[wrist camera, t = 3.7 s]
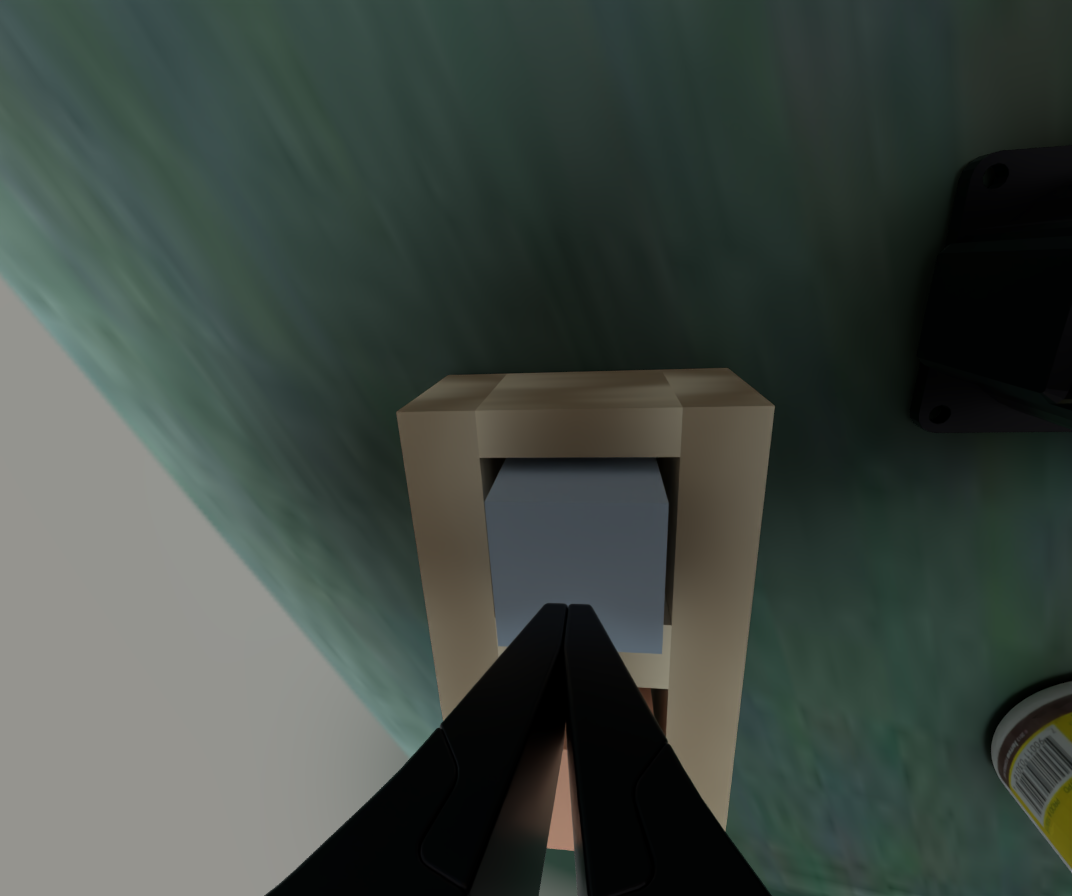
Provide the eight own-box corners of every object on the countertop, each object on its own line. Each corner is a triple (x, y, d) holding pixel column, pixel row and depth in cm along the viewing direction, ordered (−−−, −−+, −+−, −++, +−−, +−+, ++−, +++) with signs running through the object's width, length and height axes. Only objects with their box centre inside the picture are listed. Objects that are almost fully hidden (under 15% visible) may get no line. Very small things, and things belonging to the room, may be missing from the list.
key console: (727, 367, 14) (774, 405, 10) (699, 721, 18) (724, 839, 14) (447, 375, 15) (395, 412, 11) (485, 707, 19) (457, 813, 15)
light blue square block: (654, 452, 12) (669, 503, 9) (650, 577, 13) (662, 654, 11) (508, 452, 13) (484, 501, 10) (517, 574, 14) (498, 646, 11)
